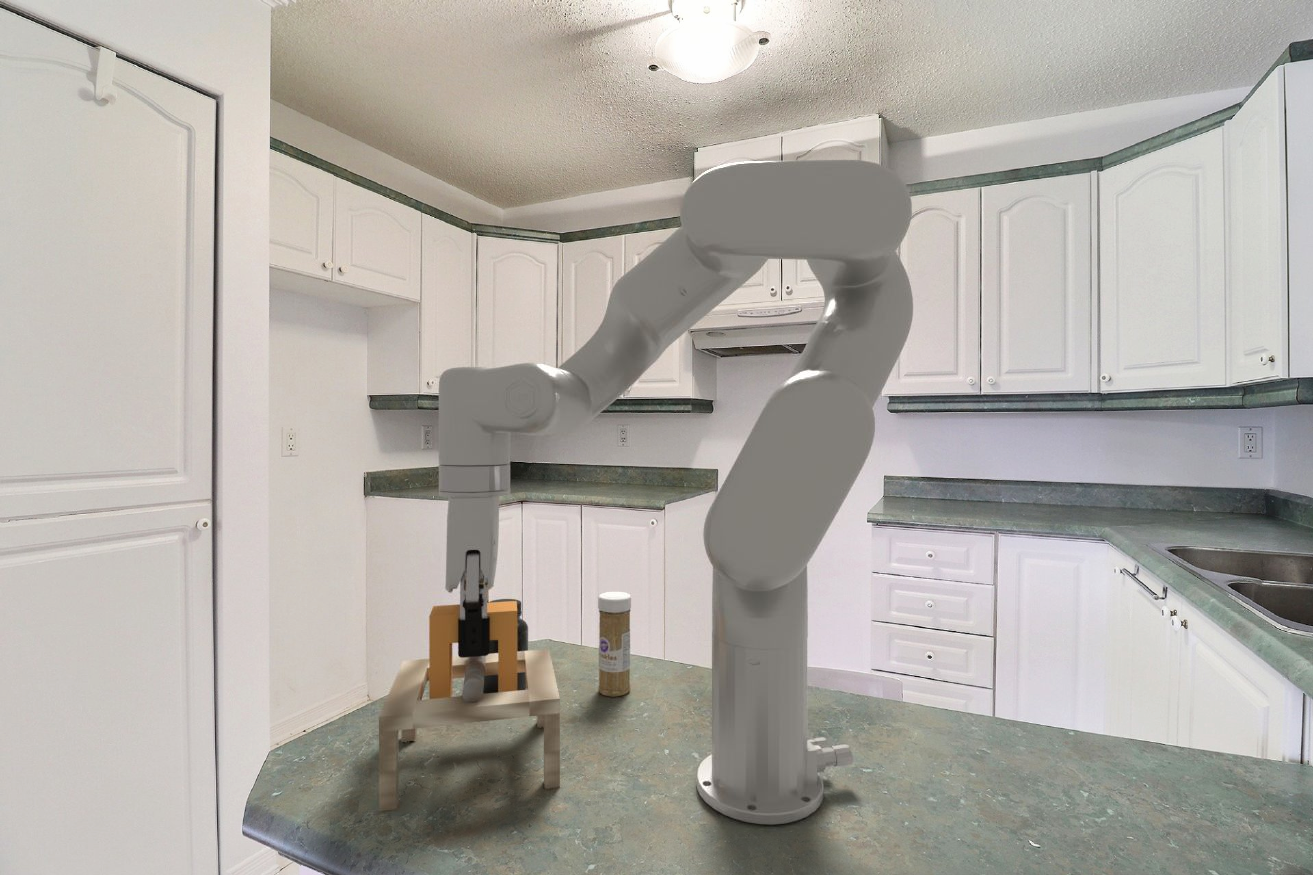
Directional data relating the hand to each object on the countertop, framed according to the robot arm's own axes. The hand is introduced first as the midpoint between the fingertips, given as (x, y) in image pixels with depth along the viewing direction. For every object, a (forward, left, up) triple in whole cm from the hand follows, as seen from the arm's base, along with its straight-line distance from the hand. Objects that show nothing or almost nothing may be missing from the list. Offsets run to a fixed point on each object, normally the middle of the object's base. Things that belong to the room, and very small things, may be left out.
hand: (475, 646), depth 69 cm
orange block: (0, 0, -6) cm, 6 cm away
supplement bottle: (-3, -19, -13) cm, 23 cm away
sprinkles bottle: (-18, -14, -13) cm, 26 cm away
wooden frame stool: (0, 0, -12) cm, 12 cm away
